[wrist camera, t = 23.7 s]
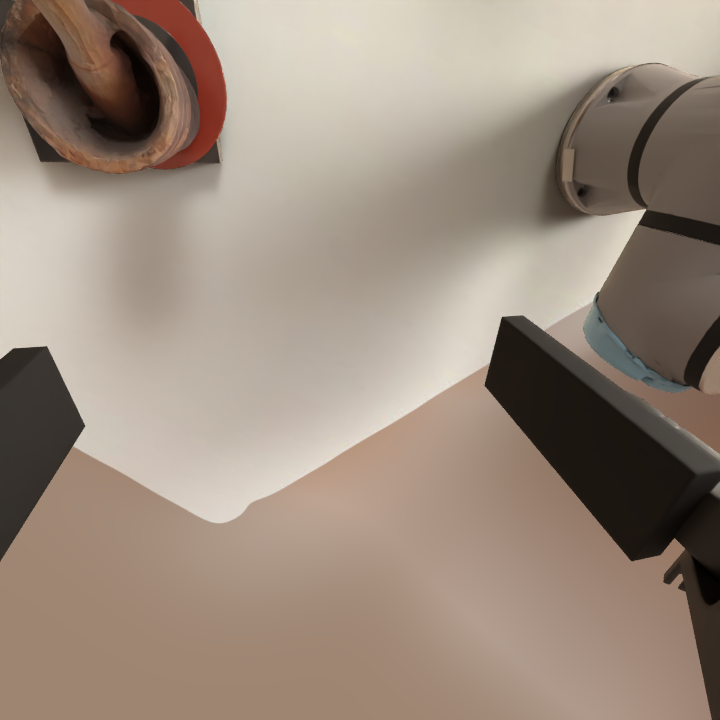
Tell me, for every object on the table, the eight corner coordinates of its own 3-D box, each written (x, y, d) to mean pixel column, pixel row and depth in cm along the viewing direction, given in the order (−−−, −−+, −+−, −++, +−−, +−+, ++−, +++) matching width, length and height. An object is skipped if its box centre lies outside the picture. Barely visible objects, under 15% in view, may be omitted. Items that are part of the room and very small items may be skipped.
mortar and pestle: (38, 12, 27) (-312, -164, 11) (143, -35, 27) (-47, -287, 11) (141, 174, 34) (21, 218, 17) (227, 137, 34) (188, 144, 17)
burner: (211, -18, 29) (211, -20, 28) (237, 169, 36) (237, 169, 35) (19, -37, 26) (16, -39, 26) (87, 168, 33) (85, 168, 33)
